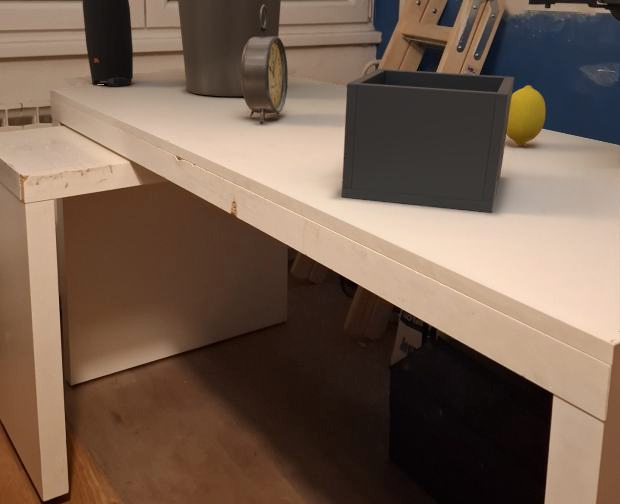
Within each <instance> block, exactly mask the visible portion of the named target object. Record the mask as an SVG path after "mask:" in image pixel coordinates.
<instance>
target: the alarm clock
mask: <svg viewBox="0 0 620 504" xmlns="http://www.w3.org/2000/svg"><path fill="white" fill-rule="evenodd" d="M263 7H264V13H265V21H264V25H262V21H261V18H262V10H263ZM266 19H267V13H266V7H265V5H262V7H261V10H260V30H261V36H260V37H252V38H251V39H249V40H248V42H247V43H246V45H245V47H244V50H243V54H242V59H241V77H240V80H241V86H242V92H243V96H242V97H243V99H244V102H245V105H246V106H247V108H248V109H249V110H250V115H249V118H252V116H253V114H260V120H259V124H260V125H264V123H265V120H264V119H265V117H266V114H275V115H277V116H278V115H280V112H282V110H283V109H284V106H285V104H286V100H287V94H288V83H289V82H288V81H289V80H288V79H289V77H288V73H289V72H288V59H287V53H286V49H285V45H284V42H283V41H282V39H281V37H279V36H278V37H277V36H271V37H267V35H266Z"/></svg>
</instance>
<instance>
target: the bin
mask: <svg viewBox="0 0 620 504" xmlns="http://www.w3.org/2000/svg"><path fill="white" fill-rule="evenodd" d="M514 83H515V77H514V76H504V75H488V74H487V75H486V74H473V73H472V74H471V73H469V74H468V73H455V72H437V71H421V70H405V69H390V68H389V69H388V68H387V69H386V68H377V69H375V70H373V71H370V72H369V73H367V74H364V75H362V76H361V77H359V78H356V79H354V80H352V81H350V82H349V83H346V98H345V101H346V102H345V120H344V121H345V122H344V138H343V139H344V141H343V159H342V161H343V162H342V179H341V180H342V181H341V187H342V188H341V198H347V199H358V200H367V201H375V202H376V201H377V202H387V203H397V204H404V205H416V206H423V207H433V208H434V207H435V208H443V209H454V210H462V211H463V210H464V211H473V212H483V213H492V211H493V209H494V205H495V200H496V196H497V192H498V188H499V184H500V180H501V175H502V169H503V168H502V167H503V161H504V153H505V147H506V140H507V134H506V133H507V126H508V119H509V112H510V105H511V97H512V94H513V89H514Z"/></svg>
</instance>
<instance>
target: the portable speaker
mask: <svg viewBox="0 0 620 504" xmlns="http://www.w3.org/2000/svg"><path fill="white" fill-rule="evenodd" d="M82 12H83V25H84V34H85V35H84V37H85V46H86V52H87V59H88V65H89V71H90V76H91V77H90V78H91V83H92V84H93V85H94V86H95V85H97V84H98V83H101V82H102V83H103V82H105V83H106V85H107V86H108V87H123V86H124V87H127V86H129V84H131V83H132V80H133V79H134V54H133V53H134V48H133V47H134V46H133V33H132V19H131V7H130V1H129V0H82Z"/></svg>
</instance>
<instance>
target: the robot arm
mask: <svg viewBox="0 0 620 504" xmlns="http://www.w3.org/2000/svg"><path fill="white" fill-rule="evenodd" d="M556 4H575V5H587V7H588V8H592V9H604V10H606V11H609V12H610V14H611V15H612V17H613V18H614V19H615V20H617V21H619V22H620V0H528V5H531V6H533V5H535V6H536V5H537V6H538V5H539V6H541V5H544V9H551V6H552V5H556Z"/></svg>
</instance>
